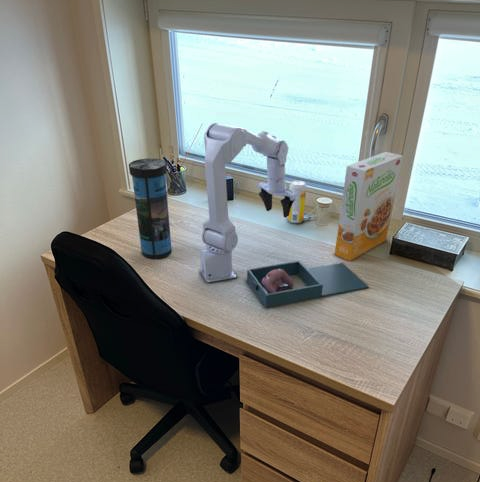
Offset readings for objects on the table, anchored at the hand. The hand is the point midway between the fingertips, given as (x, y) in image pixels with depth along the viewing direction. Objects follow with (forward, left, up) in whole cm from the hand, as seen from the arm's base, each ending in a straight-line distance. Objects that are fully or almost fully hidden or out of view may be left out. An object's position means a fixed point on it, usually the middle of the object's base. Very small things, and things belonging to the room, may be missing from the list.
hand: (277, 213), depth 159 cm
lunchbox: (-3, -31, -11) cm, 33 cm away
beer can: (+14, +14, -11) cm, 22 cm away
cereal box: (+26, -14, -11) cm, 32 cm away
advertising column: (-42, +5, -11) cm, 43 cm away
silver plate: (-13, -31, -11) cm, 35 cm away
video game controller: (-13, -31, -11) cm, 35 cm away
